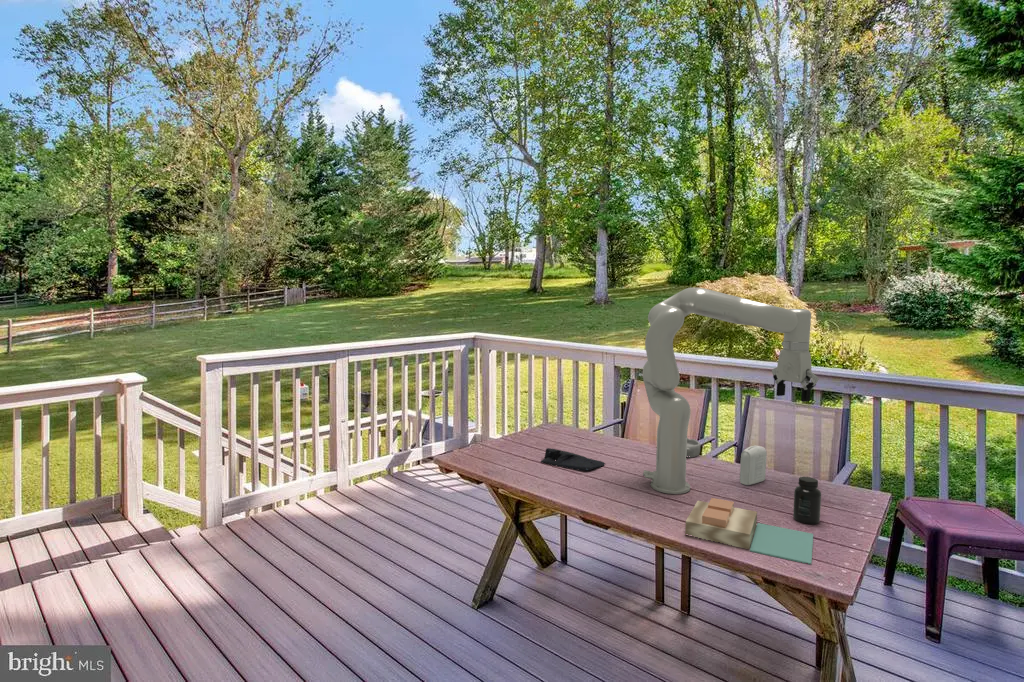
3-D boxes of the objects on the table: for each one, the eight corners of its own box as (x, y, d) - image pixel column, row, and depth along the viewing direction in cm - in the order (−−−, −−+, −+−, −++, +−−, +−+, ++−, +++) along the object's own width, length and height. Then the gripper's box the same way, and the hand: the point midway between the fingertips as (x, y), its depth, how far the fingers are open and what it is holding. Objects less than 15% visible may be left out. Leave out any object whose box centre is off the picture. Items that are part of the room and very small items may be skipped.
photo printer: (755, 476, 195) (757, 442, 194) (767, 480, 192) (768, 445, 190) (737, 482, 190) (739, 447, 188) (748, 486, 186) (750, 450, 185)
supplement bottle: (825, 523, 158) (828, 482, 157) (805, 526, 156) (808, 484, 155) (806, 513, 165) (808, 474, 164) (787, 516, 163) (789, 476, 162)
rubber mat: (749, 551, 142) (749, 549, 142) (757, 524, 158) (757, 522, 158) (811, 564, 135) (811, 563, 135) (813, 535, 151) (813, 533, 151)
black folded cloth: (585, 476, 197) (585, 463, 197) (536, 462, 212) (537, 450, 211) (609, 465, 208) (609, 453, 208) (561, 453, 223) (561, 441, 222)
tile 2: (701, 522, 149) (702, 515, 149) (706, 514, 155) (706, 507, 154) (725, 527, 146) (726, 520, 146) (729, 519, 152) (729, 512, 151)
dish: (691, 461, 213) (692, 448, 212) (657, 453, 221) (658, 441, 221) (706, 452, 223) (707, 440, 223) (673, 445, 232) (674, 433, 232)
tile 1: (707, 512, 156) (707, 505, 156) (711, 504, 162) (711, 497, 161) (730, 516, 153) (730, 509, 153) (733, 508, 159) (733, 501, 158)
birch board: (685, 535, 151) (685, 521, 150) (697, 513, 165) (697, 500, 164) (749, 549, 143) (750, 534, 143) (756, 525, 157) (757, 511, 157)
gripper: (766, 344, 189) (763, 394, 191) (810, 350, 174) (807, 404, 176) (782, 343, 192) (779, 392, 194) (828, 349, 176) (824, 403, 178)
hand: (792, 398), depth 185 cm, fingers open, 9 cm apart
